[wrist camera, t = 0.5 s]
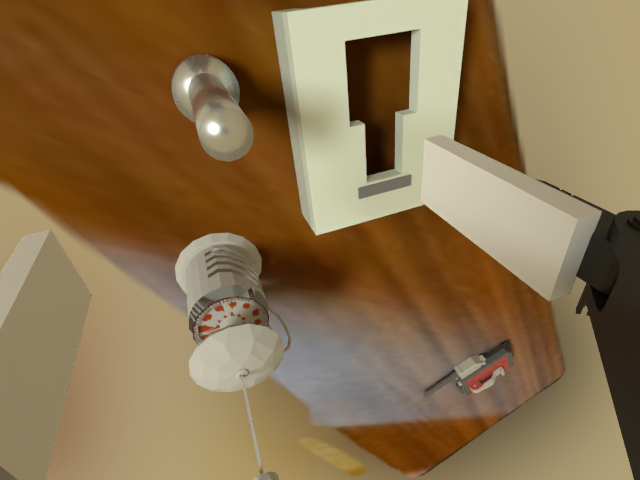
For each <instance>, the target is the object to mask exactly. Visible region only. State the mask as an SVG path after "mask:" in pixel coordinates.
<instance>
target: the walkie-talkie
mask: <svg viewBox="0 0 640 480" xmlns="http://www.w3.org/2000/svg"><path fill="white" fill-rule="evenodd" d="M510 347H511V344H510V343H509V342H505V343H503V344H498V345H496V346H495V347H494V348H492V349H491V350H489V351H487V352H486V353H485V354H483V355H477V356H472V357H469V358H468V359H466V360H465V361H463V362H461V363H460V364H458V365H456V366H455V367H454V369H455V371H453V372H452V373H450V375H449V376H447V377H446V378H444V379H443V380H441V381H440V382H438V383H436V384H435V387H433V388H432V389H430V390H429V391H427V392H426V393H424V394H423V395H424V396H425V397H427V396H429V395H430V394H432V393H433V392H435V391H436V390H438V389H440V388H441V387H443V386H444V385H446V384H447V383H449V382H450V381H452V380H453V379H454V380H458V382H457V383H458V384H456V386H457V387H458V389H459V390H460V392H461V393H462V394H463V393H464V391H465V392H466V394H467V395H469V394H471V393H472V392H473V393H475V394H479V393H481V392H482V391H484V389H487V388H488V387H490V386H491V385H493V384H494V382H495V379H496V377H497V376H498V375H500V374H501V375H502V376H503V375H505V373H504V371H506V370H508V369H509V368H510V367H512V366H513V365H514V362H513V357H512V354H511V353H510V352H509V351H508V350H507V349H509V348H510Z"/></svg>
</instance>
